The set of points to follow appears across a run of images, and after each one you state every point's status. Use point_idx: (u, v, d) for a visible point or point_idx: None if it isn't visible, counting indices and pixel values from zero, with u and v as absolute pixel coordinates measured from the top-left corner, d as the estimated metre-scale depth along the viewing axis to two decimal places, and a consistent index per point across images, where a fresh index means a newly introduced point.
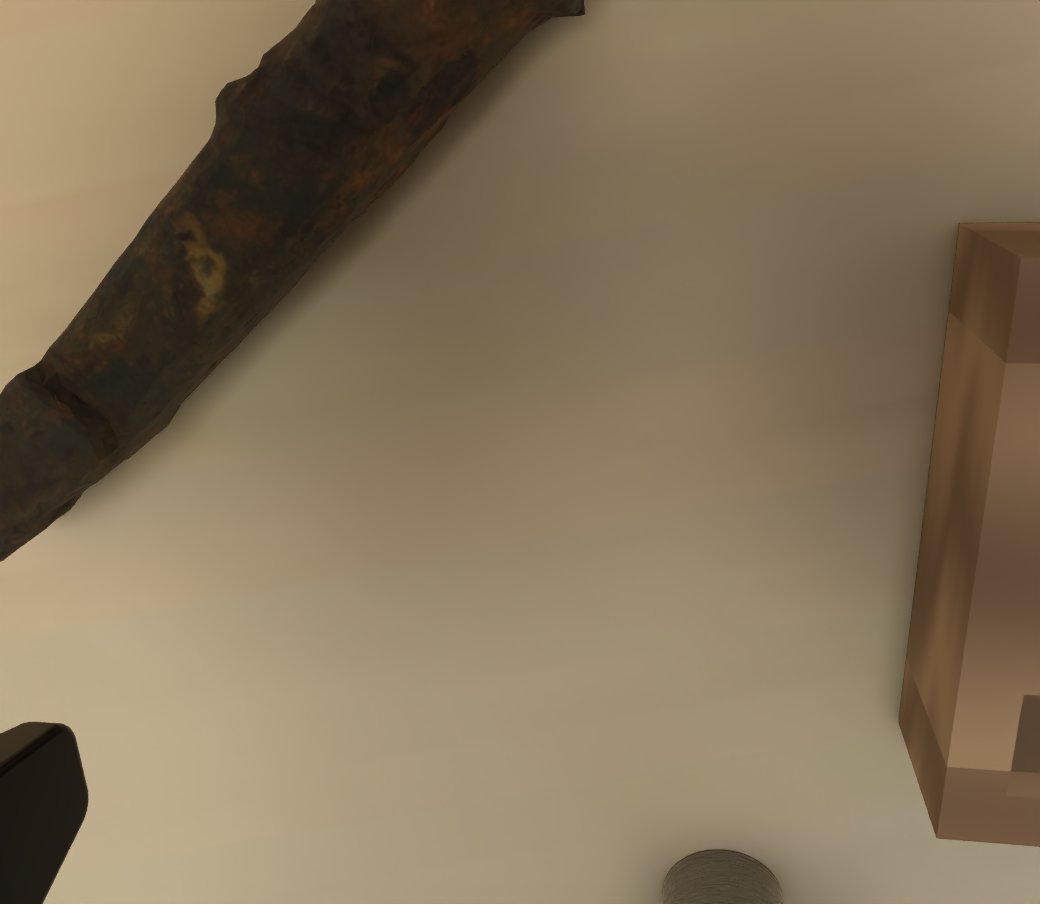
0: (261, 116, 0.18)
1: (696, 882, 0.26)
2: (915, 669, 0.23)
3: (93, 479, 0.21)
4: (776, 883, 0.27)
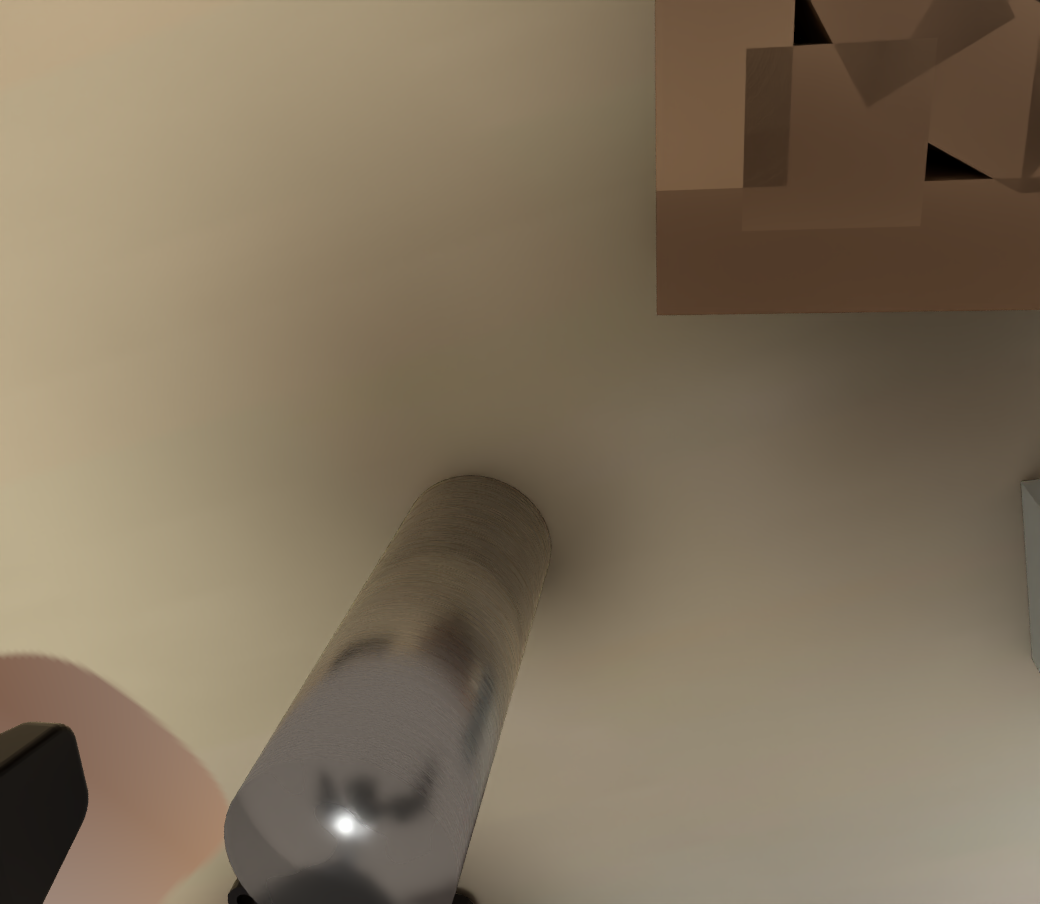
0: None
1: (426, 504, 0.20)
2: None
3: None
4: (538, 515, 0.21)
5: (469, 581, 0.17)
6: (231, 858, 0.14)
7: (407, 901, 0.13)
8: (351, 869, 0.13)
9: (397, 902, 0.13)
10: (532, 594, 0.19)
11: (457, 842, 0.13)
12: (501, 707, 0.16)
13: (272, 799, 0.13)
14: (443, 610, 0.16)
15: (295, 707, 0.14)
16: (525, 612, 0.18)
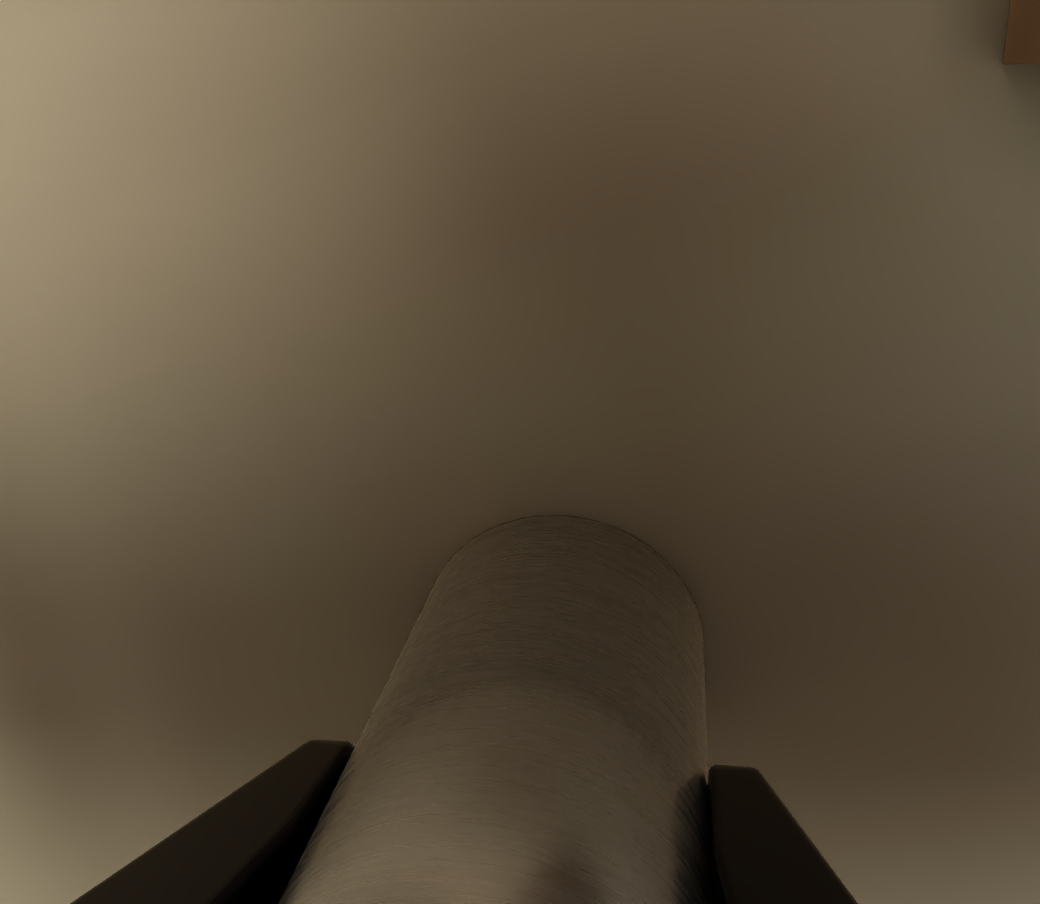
0: None
1: (473, 572, 0.10)
2: None
3: None
4: (685, 593, 0.11)
5: (603, 777, 0.07)
6: None
7: None
8: None
9: None
10: None
11: None
12: None
13: None
14: (561, 883, 0.06)
15: None
16: (708, 825, 0.08)
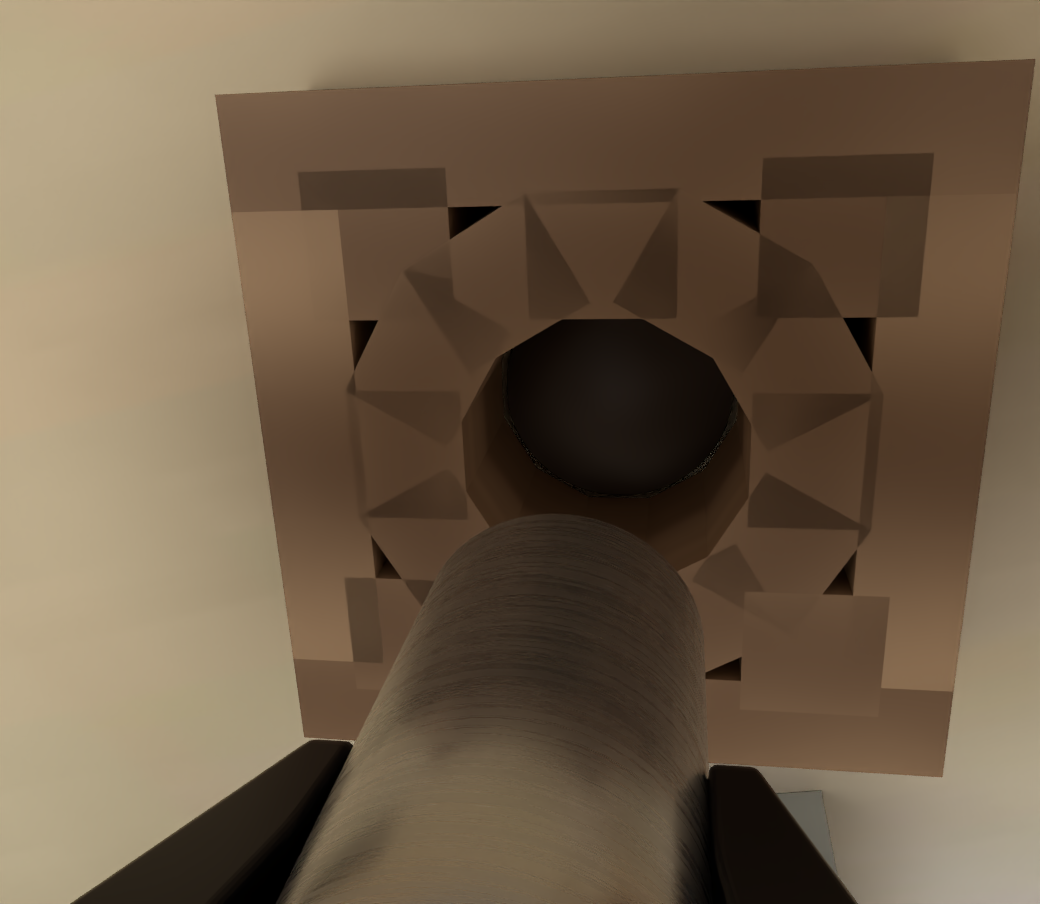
0: None
1: (473, 571, 0.10)
2: None
3: None
4: (686, 592, 0.11)
5: (602, 778, 0.07)
6: None
7: None
8: None
9: None
10: (708, 772, 0.09)
11: None
12: None
13: None
14: (560, 883, 0.06)
15: None
16: (709, 825, 0.08)
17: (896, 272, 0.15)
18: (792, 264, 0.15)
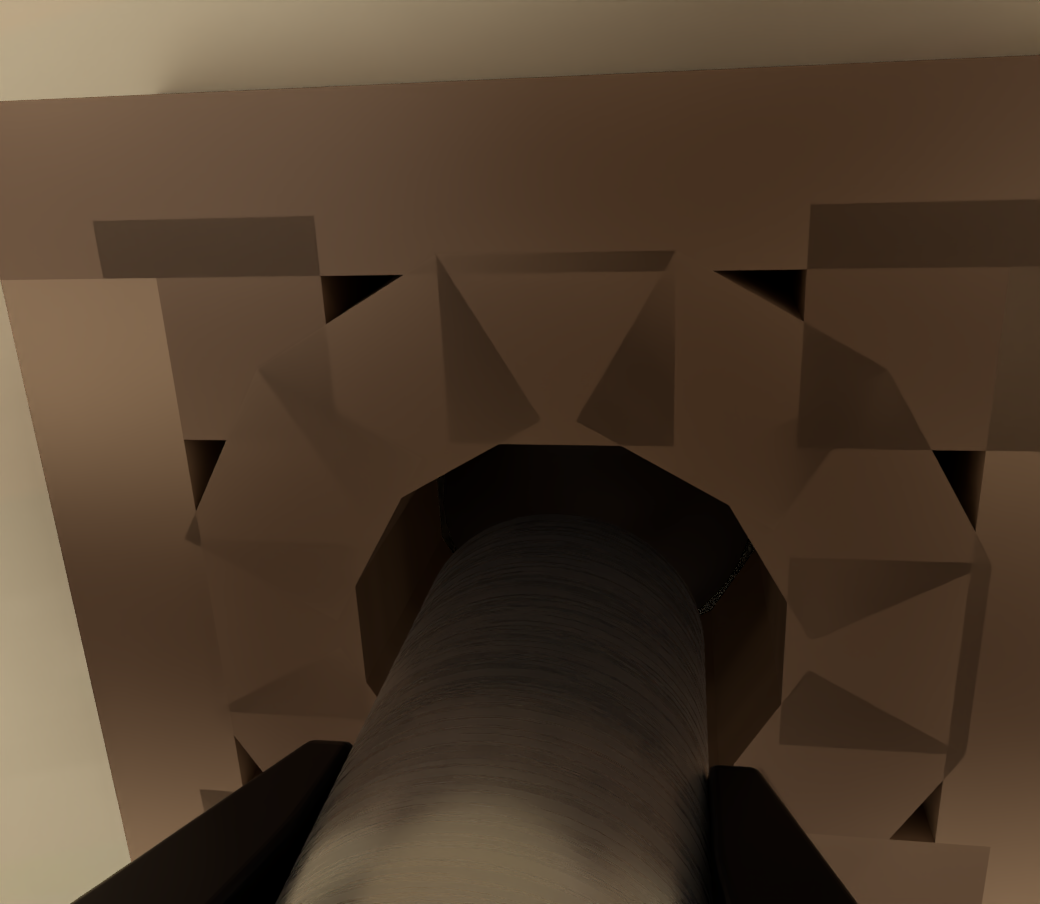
0: None
1: (473, 570, 0.10)
2: None
3: None
4: (686, 591, 0.11)
5: (602, 778, 0.07)
6: None
7: None
8: None
9: None
10: (708, 772, 0.09)
11: None
12: None
13: None
14: (560, 883, 0.06)
15: None
16: (709, 825, 0.08)
17: (1020, 383, 0.09)
18: (854, 369, 0.10)
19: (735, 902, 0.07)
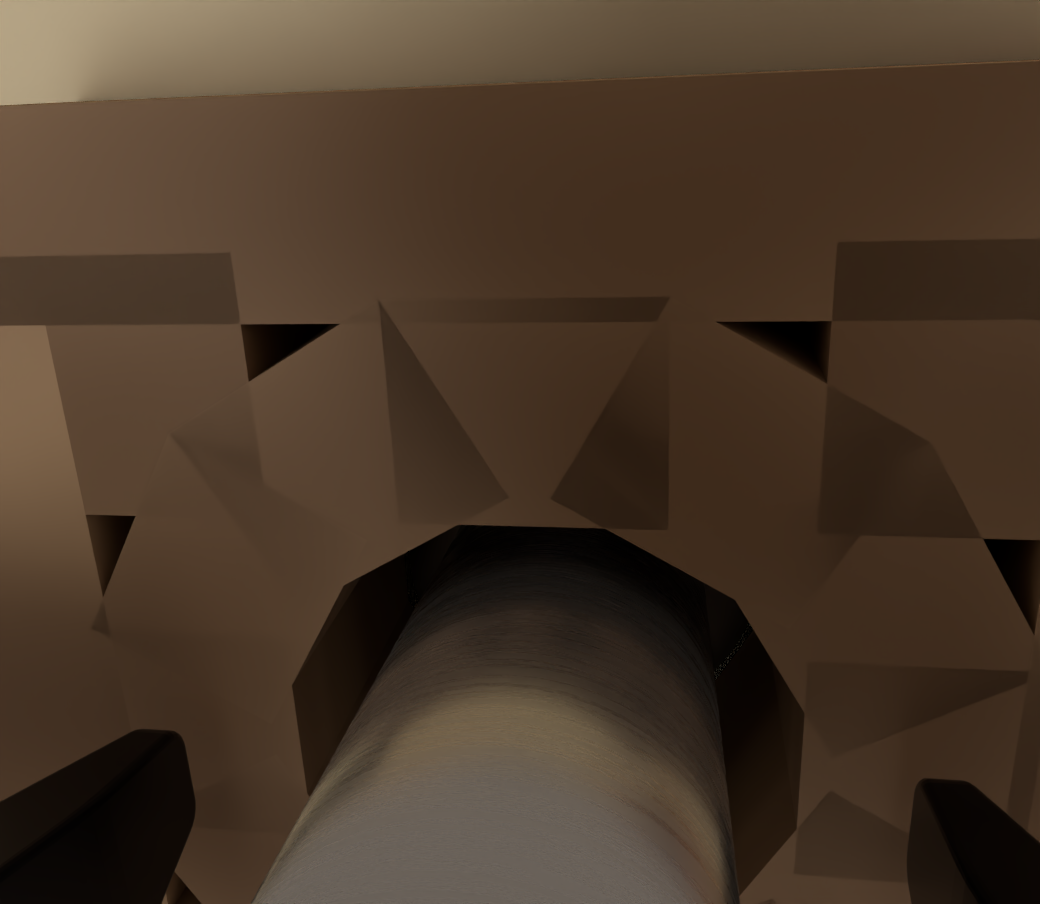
0: None
1: None
2: None
3: None
4: None
5: (629, 601, 0.09)
6: None
7: None
8: None
9: None
10: (710, 641, 0.10)
11: None
12: (735, 864, 0.07)
13: None
14: (602, 649, 0.08)
15: (291, 871, 0.06)
16: (713, 671, 0.10)
17: None
18: (889, 441, 0.08)
19: None
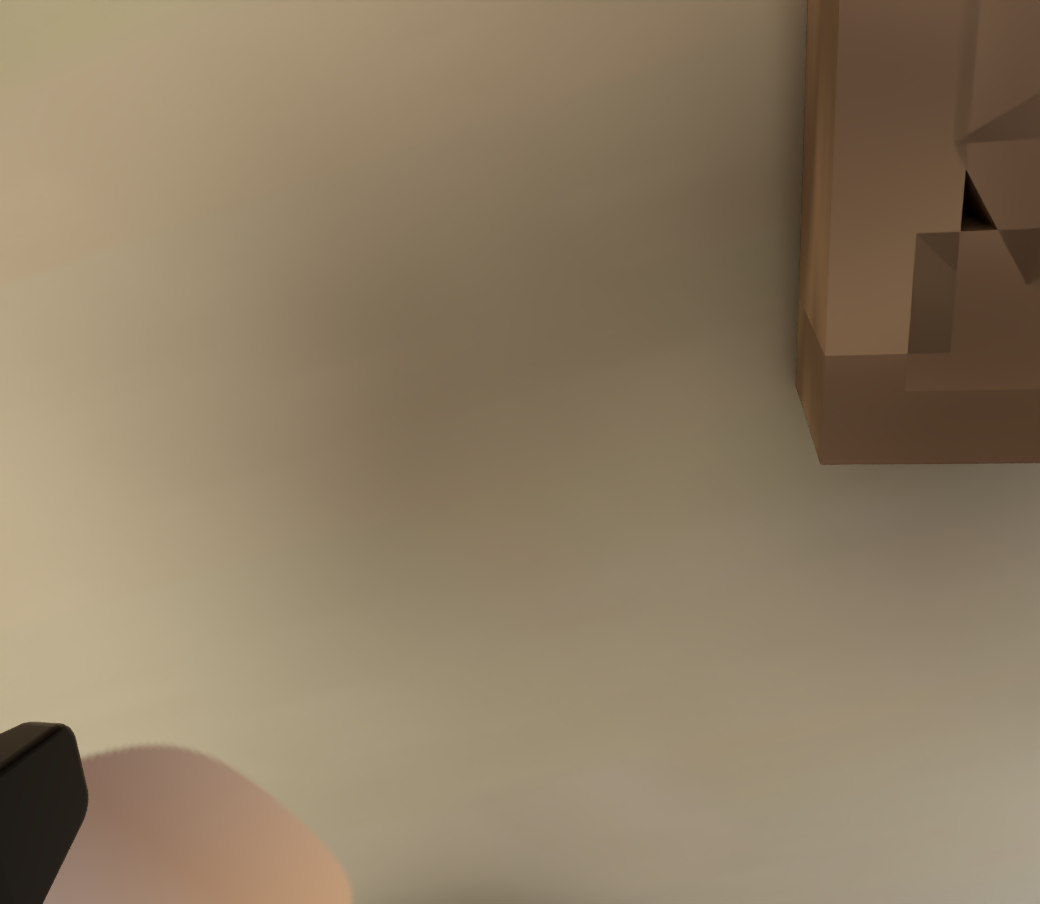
0: None
1: None
2: (803, 292, 0.18)
3: None
4: None
5: None
6: None
7: None
8: None
9: None
10: None
11: None
12: None
13: None
14: None
15: None
16: None
17: None
18: None
19: None
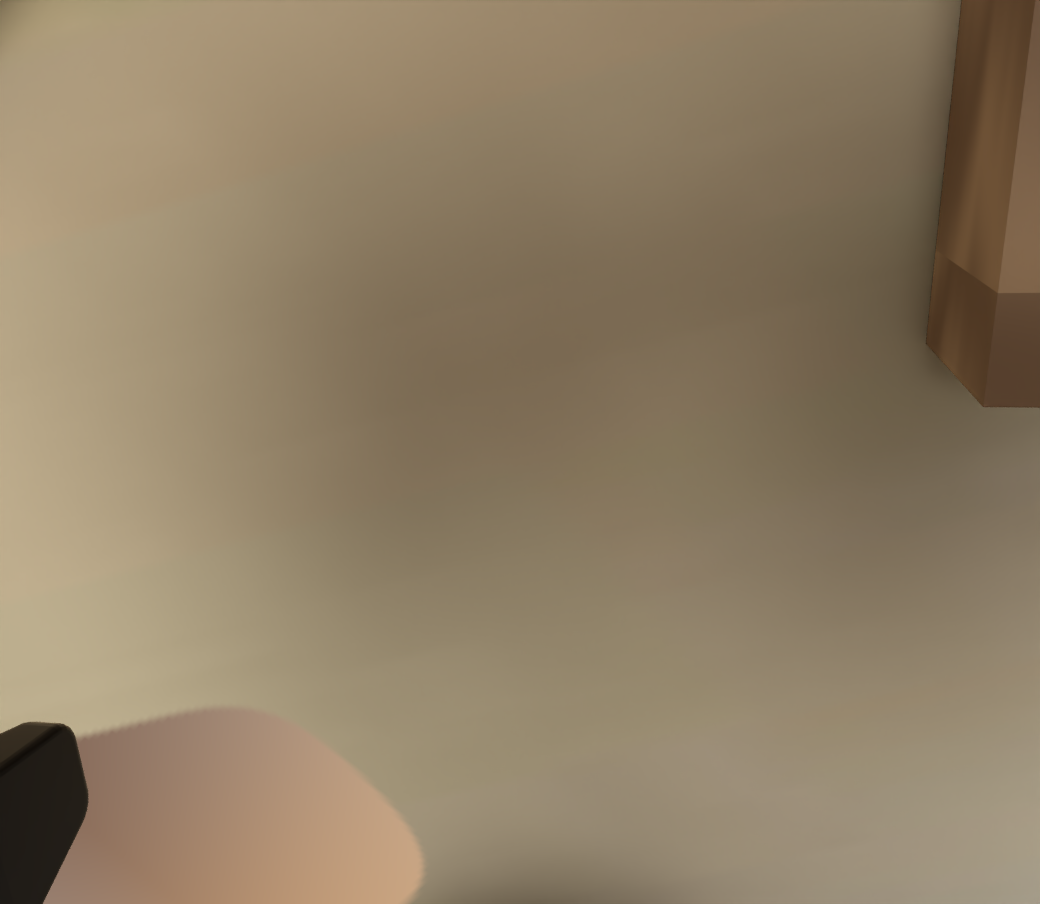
0: None
1: None
2: (948, 242, 0.18)
3: None
4: None
5: None
6: None
7: None
8: None
9: None
10: None
11: None
12: None
13: None
14: None
15: None
16: None
17: None
18: None
19: None
